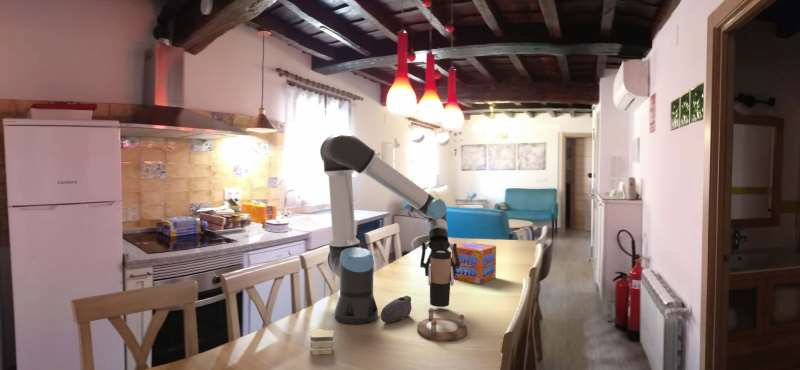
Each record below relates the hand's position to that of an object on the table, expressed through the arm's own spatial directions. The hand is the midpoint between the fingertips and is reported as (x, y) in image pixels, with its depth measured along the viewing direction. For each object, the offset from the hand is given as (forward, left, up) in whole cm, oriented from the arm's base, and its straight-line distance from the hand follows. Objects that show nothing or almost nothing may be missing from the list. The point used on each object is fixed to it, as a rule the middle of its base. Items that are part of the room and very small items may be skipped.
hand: (441, 283), depth 151 cm
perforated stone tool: (-18, +2, -11) cm, 21 cm away
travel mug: (+2, +3, -9) cm, 9 cm away
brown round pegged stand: (-10, -14, -11) cm, 20 cm away
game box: (+41, +31, -11) cm, 53 cm away
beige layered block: (-48, -9, -11) cm, 51 cm away
